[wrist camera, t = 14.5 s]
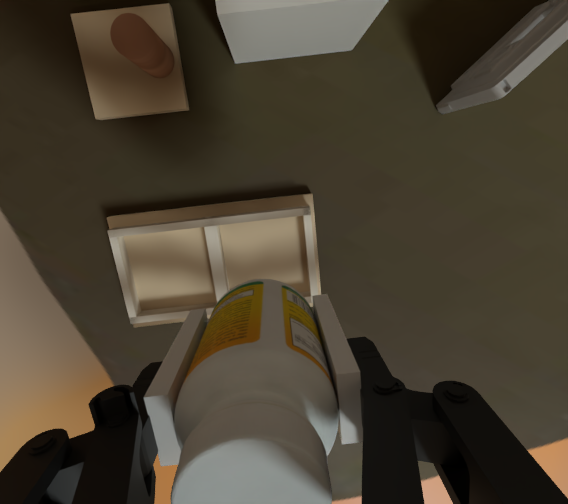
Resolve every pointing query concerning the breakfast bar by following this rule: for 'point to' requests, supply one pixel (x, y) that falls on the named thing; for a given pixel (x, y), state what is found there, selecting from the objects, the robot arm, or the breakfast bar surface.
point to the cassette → (510, 57)
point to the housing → (293, 26)
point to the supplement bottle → (257, 404)
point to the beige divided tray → (212, 254)
